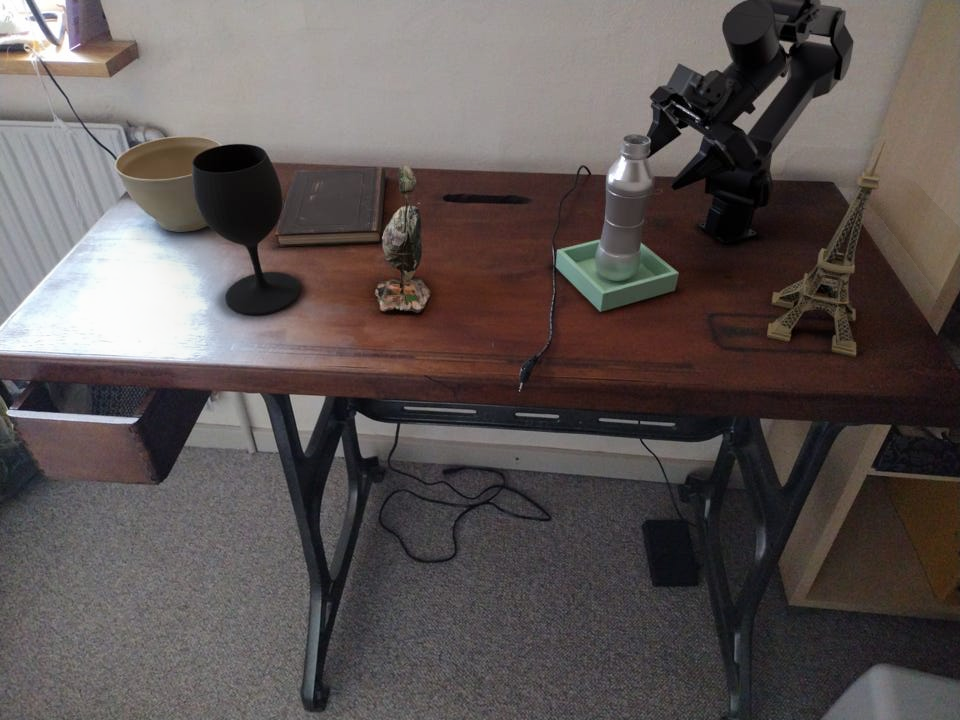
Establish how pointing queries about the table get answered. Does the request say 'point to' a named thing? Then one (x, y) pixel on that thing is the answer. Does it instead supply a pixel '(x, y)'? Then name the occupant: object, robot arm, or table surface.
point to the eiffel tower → (833, 266)
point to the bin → (611, 294)
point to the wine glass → (244, 219)
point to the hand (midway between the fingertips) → (654, 173)
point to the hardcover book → (333, 207)
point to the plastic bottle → (625, 209)
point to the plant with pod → (403, 254)
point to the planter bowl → (165, 179)
